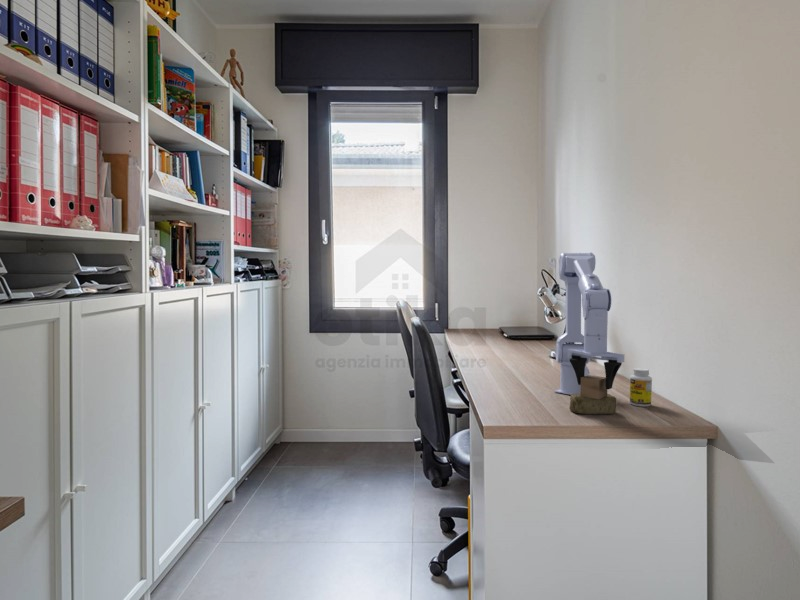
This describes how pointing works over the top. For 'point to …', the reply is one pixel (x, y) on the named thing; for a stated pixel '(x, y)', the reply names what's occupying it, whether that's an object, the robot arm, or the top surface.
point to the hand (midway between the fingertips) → (594, 386)
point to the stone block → (593, 404)
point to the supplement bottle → (640, 388)
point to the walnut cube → (593, 387)
